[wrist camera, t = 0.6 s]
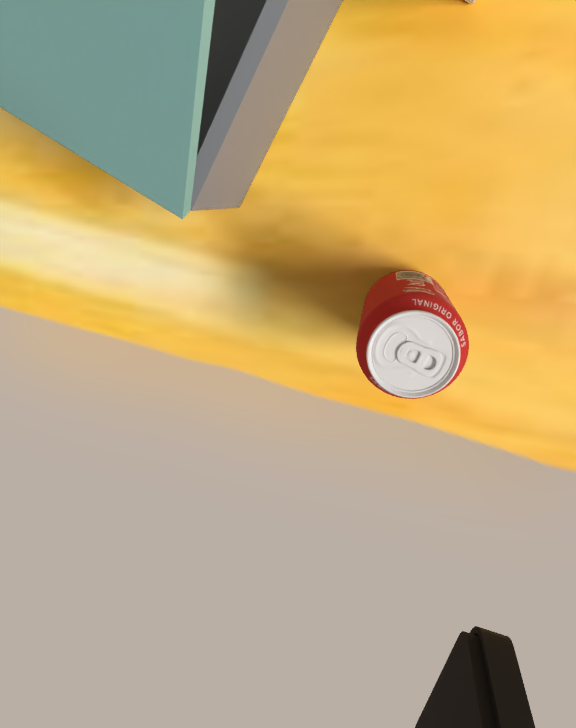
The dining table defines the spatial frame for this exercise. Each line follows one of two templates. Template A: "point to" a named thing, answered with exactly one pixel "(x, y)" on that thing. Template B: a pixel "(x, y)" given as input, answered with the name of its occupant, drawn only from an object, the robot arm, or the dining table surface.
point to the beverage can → (410, 336)
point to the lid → (113, 84)
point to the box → (251, 88)
